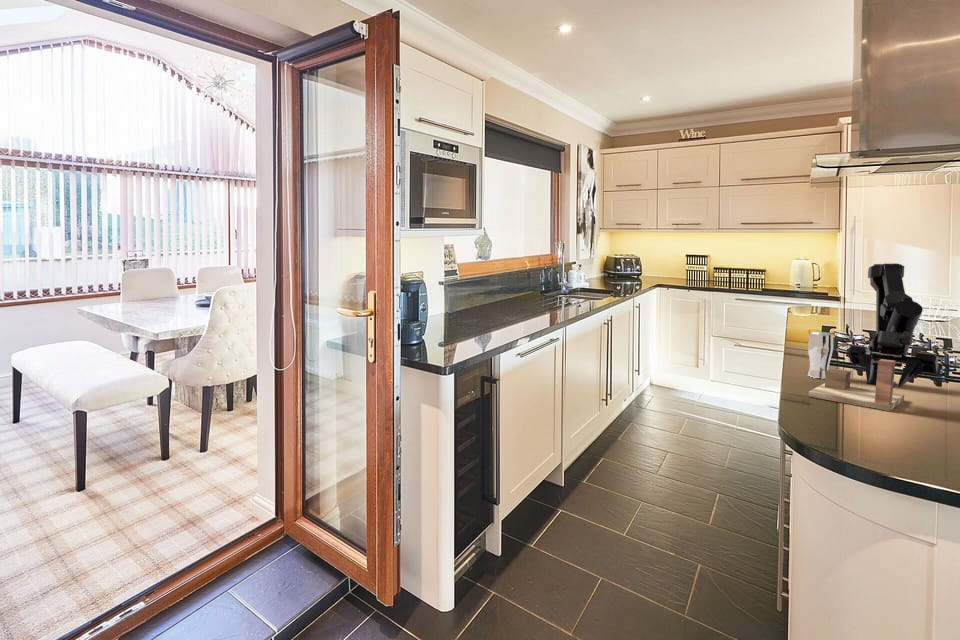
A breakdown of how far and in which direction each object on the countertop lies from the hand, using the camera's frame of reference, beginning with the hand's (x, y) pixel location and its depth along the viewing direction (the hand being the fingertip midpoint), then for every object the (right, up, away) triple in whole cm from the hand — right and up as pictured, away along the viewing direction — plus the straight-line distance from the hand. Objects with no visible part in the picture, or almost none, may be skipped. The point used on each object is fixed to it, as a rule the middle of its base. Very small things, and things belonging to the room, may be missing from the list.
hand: (883, 384), depth 133 cm
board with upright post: (+1, -6, +11) cm, 12 cm away
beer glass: (+7, -2, +36) cm, 36 cm away
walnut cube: (0, -3, +17) cm, 18 cm away
